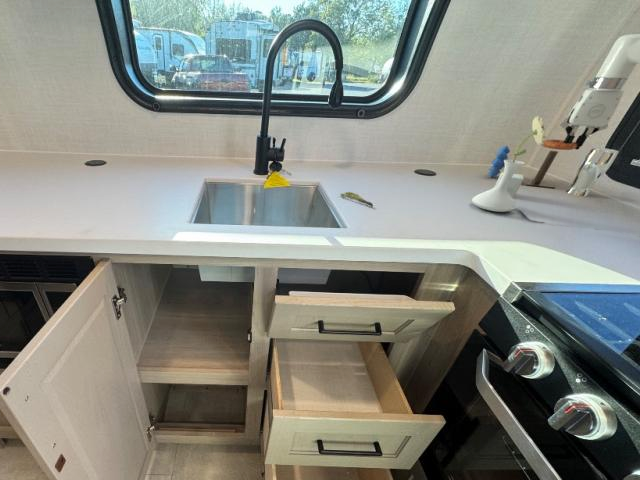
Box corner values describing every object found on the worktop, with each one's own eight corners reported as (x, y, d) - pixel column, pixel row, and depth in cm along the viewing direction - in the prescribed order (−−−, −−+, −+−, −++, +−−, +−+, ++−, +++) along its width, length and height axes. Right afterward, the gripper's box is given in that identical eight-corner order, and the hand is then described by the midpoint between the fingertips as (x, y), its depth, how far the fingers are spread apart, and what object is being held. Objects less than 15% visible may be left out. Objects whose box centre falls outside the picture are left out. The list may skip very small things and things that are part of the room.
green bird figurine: (369, 208, 96) (371, 201, 94) (337, 197, 105) (338, 191, 104) (378, 206, 97) (380, 199, 96) (346, 195, 107) (347, 189, 105)
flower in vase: (508, 218, 92) (563, 120, 77) (465, 208, 98) (508, 115, 83) (516, 207, 99) (567, 116, 84) (475, 198, 106) (516, 112, 91)
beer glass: (593, 200, 107) (626, 152, 98) (570, 198, 108) (601, 151, 99) (578, 193, 113) (608, 148, 104) (557, 192, 114) (585, 147, 105)
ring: (568, 146, 114) (571, 140, 113) (580, 151, 107) (584, 144, 105) (536, 144, 117) (539, 138, 115) (546, 149, 109) (549, 142, 108)
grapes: (500, 182, 122) (517, 148, 115) (480, 178, 126) (495, 146, 119) (507, 177, 129) (523, 145, 122) (488, 173, 133) (503, 142, 126)
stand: (544, 184, 122) (564, 150, 115) (553, 190, 115) (575, 154, 108) (516, 181, 124) (534, 147, 117) (524, 187, 118) (543, 152, 110)
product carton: (511, 196, 108) (523, 174, 104) (511, 201, 104) (524, 178, 100) (490, 193, 111) (501, 171, 106) (490, 197, 107) (501, 175, 102)
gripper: (581, 84, 99) (546, 148, 110) (647, 86, 95) (604, 152, 105) (570, 83, 105) (538, 144, 116) (632, 85, 100) (593, 148, 111)
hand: (570, 147), depth 110 cm, fingers closed on ring, 2 cm apart
